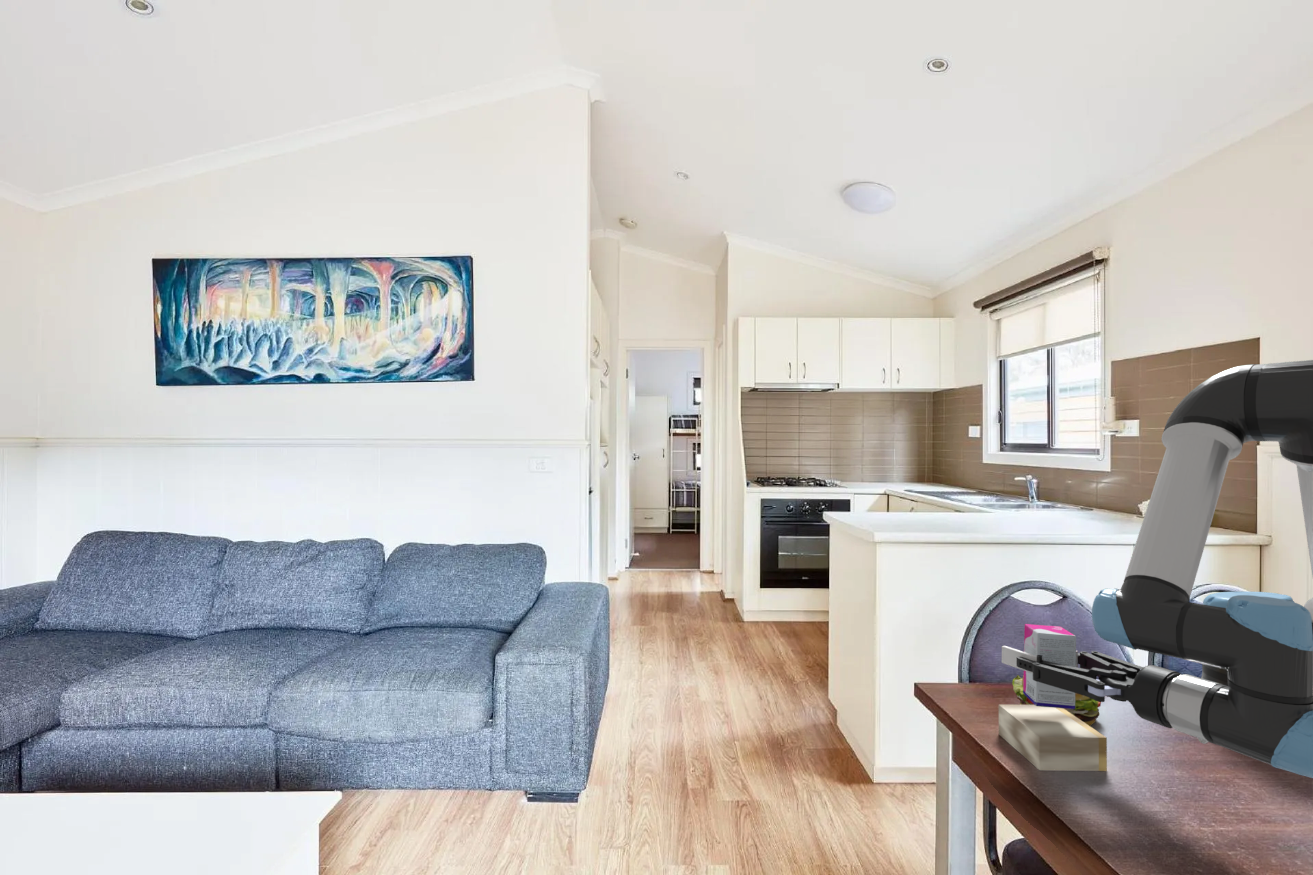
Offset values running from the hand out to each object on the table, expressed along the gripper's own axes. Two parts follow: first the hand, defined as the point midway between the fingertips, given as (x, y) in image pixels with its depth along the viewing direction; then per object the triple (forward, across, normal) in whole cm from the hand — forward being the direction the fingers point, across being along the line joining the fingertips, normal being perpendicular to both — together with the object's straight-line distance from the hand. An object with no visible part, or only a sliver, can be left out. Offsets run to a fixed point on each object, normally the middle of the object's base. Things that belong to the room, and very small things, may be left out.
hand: (1020, 650), depth 107 cm
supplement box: (-5, 0, -7) cm, 8 cm away
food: (+4, +15, -15) cm, 21 cm away
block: (-5, 0, -15) cm, 15 cm away
